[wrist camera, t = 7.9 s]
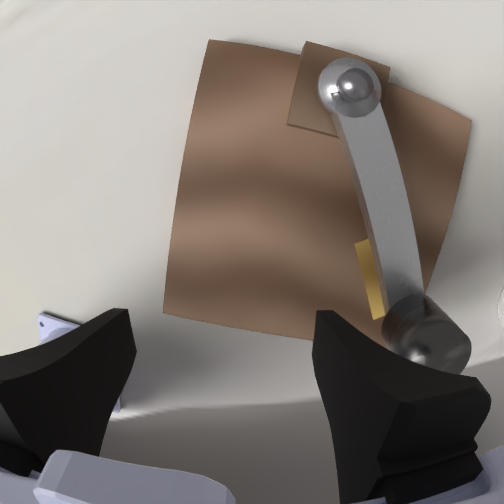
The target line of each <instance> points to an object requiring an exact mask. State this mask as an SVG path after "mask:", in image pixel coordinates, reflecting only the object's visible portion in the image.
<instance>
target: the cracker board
mask: <svg viewBox="0 0 504 504" xmlns="http://www.w3.org/2000/svg"><path fill="white" fill-rule="evenodd" d="M340 58H353V59H357V60H360V61H362V62H364V63H365V64H367V65H368V66H369V67H370V68H371V69H372V70H373V71H374V72H375V74H376V75H377V77H378V79H379V82H380V85H381V98H380V104H381V107H382V110H383V113H384V116H385V119H386V122H387V125H388V128H389V131H390V134H391V138H392V141H393V144H394V148H395V151H396V155H397V158H398V162H399V166H400V169H401V173H402V177H403V181H404V185H405V189H406V193H407V198H408V202H409V207H410V211H411V216H412V221H413V226H414V231H415V236H416V242H417V248H418V254H419V260H420V266H421V273H422V281H423V289H424V293H425V291H426V288H427V286H428V283H429V280H430V278H431V275H432V272H433V270H434V267H435V264H436V261H437V258H438V255H439V252H440V249H441V246H442V243H443V240H444V237H445V234H446V231H447V227H448V224H449V221H450V217H451V214H452V210H453V206H454V203H455V199H456V195H457V191H458V187H459V183H460V179H461V174H462V170H463V165H464V160H465V156H466V150H467V145H468V140H469V134H470V128H471V121H472V120H470V119H468V118H466V117H464V116H462V115H460V114H458V113H456V112H454V111H452V110H450V109H448V108H446V107H444V106H442V105H440V104H438V103H436V102H434V101H431V100H429V99H427V98H425V97H423V96H420V95H418V94H416V93H413V92H411V91H408V90H406V89H404V88H401V87H399V86H396V85H393V84H391V83H388V77H389V71H390V67H387V66H385V65H382V64H379V63H377V62H374V61H371V60H368V59H365V58H363V57H360V56H357V55H353V54H350V53H347V52H344V51H341V50H337V49H334V48H331V47H327V46H323V45H320V44H316V43H312V42H308V41H306V43H305V45H304V46H303V48H302V53H301V56H300V55H296V54H292V53H288V52H283V51H278V50H273V49H268V48H263V47H258V46H252V45H246V44H240V43H233V42H226V41H218V40H210V39H209V41H208V45H207V49H206V53H205V57H204V61H203V65H202V69H201V73H200V78H199V82H198V86H197V91H196V95H195V100H194V105H193V109H192V114H191V119H190V124H189V129H188V134H187V140H186V145H185V150H184V156H183V161H182V167H181V173H180V179H179V185H178V192H177V198H176V205H175V211H174V218H173V226H172V233H171V241H170V249H169V257H168V266H167V275H166V284H165V294H164V305H163V313H165V314H169V315H174V316H178V317H183V318H188V319H193V320H197V321H202V322H207V323H212V324H217V325H223V326H228V327H233V328H239V329H244V330H250V331H256V332H261V333H267V334H274V335H280V336H286V337H293V338H299V339H306V340H314V330H315V320H316V310H333V311H335V312H336V313H337V314H339V315H340V316H341V317H343V318H344V319H345V320H346V321H348V322H349V323H350V324H351V325H353V326H354V327H355V328H357V329H358V330H359V331H361V332H362V333H363V334H365V335H366V336H368V337H369V338H370V339H372V340H373V341H375V342H377V343H378V344H380V345H381V346H383V347H385V348H386V349H388V347H387V346H386V344H385V342H384V340H383V338H382V334H381V327H382V323H383V320H384V318H385V312H384V307H383V302H382V297H381V292H380V287H379V282H378V277H377V273H376V268H375V264H374V259H373V255H372V251H371V247H370V243H369V239H368V235H367V231H366V227H365V223H364V219H363V215H362V212H361V208H360V205H359V201H358V197H357V194H356V191H355V187H354V184H353V180H352V177H351V174H350V171H349V167H348V164H347V161H346V158H345V155H344V152H343V149H342V146H341V143H340V140H339V137H338V134H337V131H336V128H335V126H334V123H333V120H332V117H331V115H330V114H328V113H327V112H326V111H325V110H324V109H323V108H322V107H321V106H320V104H319V102H318V100H317V97H316V93H315V84H316V80H317V78H318V76H319V74H320V73H321V72H322V71H323V70H324V69H325V67H326V66H327V65H328V64H330V63H331V62H332V61H334V60H337V59H340Z"/></svg>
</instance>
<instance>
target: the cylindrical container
mask: <svg viewBox="0 0 504 504" xmlns="http://www.w3.org/2000/svg"><path fill="white" fill-rule="evenodd" d="M498 319H499V322H500V323H501V325H502V326H503V327H504V288H503V291H502V293H501V296H500V299H499V304H498Z"/></svg>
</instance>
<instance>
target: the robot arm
mask: <svg viewBox="0 0 504 504" xmlns="http://www.w3.org/2000/svg"><path fill="white" fill-rule="evenodd" d="M37 320H38V327H39V333H40V339H41V343H40V344H39V345H38V346H36V347H34V348H30V349H27V350H24V351H20V352H17V353H13V354H9V355H5V356H0V504H236V502H235V498H234V496H233V495H232V494H231V493H230V491H229V490H228V489H227V487H225V486H224V485H222V484H221V483H218V482H216V481H214V480H212V479H210V478H208V477H206V476H203V475H198V474H193V473H189V472H184V471H179V470H171V469H163V468H156V467H149V466H143V465H137V464H131V463H125V462H120V461H115V460H110V459H106V458H101V457H99V453H100V450H101V446H102V441H103V438H104V434H105V431H106V428H107V424H108V421H109V418H110V416H111V413H112V412H115V413H119V412H120V410H121V407H120V394H121V392H122V390H123V388H124V386H125V383H126V381H127V379H128V377H129V375H130V372H131V370H132V366H133V363H134V360H135V356H136V353H137V351H136V346H135V342H134V337H133V333H132V328H131V323H130V318H129V313H128V309H120V308H113V309H111V310H108V311H106V312H104V313H102V314H101V315H99V316H97V317H95V318H93V319H92V320H90V321H88V322H86V323H84V324H83V325H81V326H80V325H77V324H74V323H71V322H68V321H64V320H61V319H58V318H55V317H52V316H50V315H47V314H44V313H40V314H38V316H37ZM312 359H313V365H314V372H315V377H316V380H317V384H318V387H319V390H320V394H321V397H322V400H323V403H324V407H325V410H326V413H327V416H328V420H329V423H330V428H331V433H332V439H333V445H334V451H335V459H336V467H337V475H338V485H339V497H340V504H504V445H502V446H499V447H497V448H495V449H493V450H491V451H488V452H487V453H485V454H483V455H482V456H481V457H480V458H479V459H478V458H477V456H476V454H475V452H474V451H476V450H477V448H478V446H477V444H476V442H475V440H474V437H475V436H476V434H477V432H478V431H479V429H480V427H481V426H482V424H483V422H484V420H485V419H486V417H487V415H488V413H489V410H490V406H491V397H490V394H489V393H488V392H487V391H486V389H485V388H484V387H483V385H482V384H481V383H480V381H479V380H478V379H477V378H476V377H470V376H464V375H458V374H452V373H448V372H444V371H440V370H436V369H433V368H430V367H427V366H424V365H421V364H418V363H416V362H413V361H411V360H408V359H406V358H404V357H402V356H400V355H398V354H396V353H394V352H392V351H390V350H388V349H386V348H385V347H383V346H381V345H380V344H378V343H377V342H375V341H373V340H372V339H370V338H369V337H368V336H366V335H365V334H363V333H362V332H361V331H359V330H358V329H357V328H355V327H354V326H353V325H351V324H350V323H349V322H348V321H346V320H345V319H344V318H343V317H341V316H340V315H339V314H337V313H336V312H335V311H333V310H316V320H315V330H314V340H313V349H312Z"/></svg>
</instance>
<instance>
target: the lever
mask: <svg viewBox="0 0 504 504" xmlns="http://www.w3.org/2000/svg"><path fill="white" fill-rule="evenodd" d="M315 93H316V97H317V100H318V102H319V104H320V106H321V107H322V108H323V109H324V110H325V111H326V112H327V113H328V114H330V115H331V117H332V120H333V123H334V126H335V128H336V131H337V134H338V137H339V140H340V143H341V146H342V149H343V152H344V155H345V158H346V161H347V164H348V167H349V171H350V174H351V177H352V180H353V184H354V187H355V191H356V194H357V197H358V201H359V205H360V208H361V212H362V215H363V219H364V223H365V227H366V231H367V235H368V239H369V243H370V247H371V251H372V255H373V259H374V264H375V268H376V273H377V277H378V282H379V287H380V292H381V297H382V302H383V307H384V312H385V318H384V320H383V323H382V327H381V334H382V338H383V340H384V342H385V344H386V346H387V347H388V349H389V350H390V351H392V352H394V353H396V354H398V355H400V356H402V357H404V358H406V359H408V360H411V361H413V362H416V363H418V364H421V365H424V366H427V367H430V368H433V369H436V370H440V371H444V372H448V373H452V374H458V375H460V373H461V372H462V371H463V369H464V368H465V366H466V365H467V363H468V361H469V358H470V355H471V342H470V339H469V338H468V336H467V335H466V334H465V333H464V332H463V331H462V330H461V329H460V328H459V327H458V326H457V325H456V324H455V323H454V321H453V320H452V319H451V318H450V317H449V316H448V315H447V314H446V313H445V312H444V311H443V310H442V309H441V308H440V307H439V306H438V305H437V304H436V303H435V302H434V301H433V300H432V299H431V298H430V297H428V296H426V295H424V289H423V281H422V273H421V266H420V260H419V254H418V248H417V242H416V236H415V231H414V226H413V221H412V216H411V211H410V207H409V202H408V198H407V193H406V189H405V185H404V181H403V177H402V173H401V169H400V166H399V162H398V158H397V155H396V151H395V148H394V144H393V141H392V138H391V134H390V131H389V128H388V125H387V122H386V119H385V116H384V113H383V110H382V107H381V104H380V98H381V85H380V82H379V79H378V77H377V75H376V74H375V72H374V71H373V70H372V69H371V68H370V67H369V66H368V65H367V64H365V63H364V62H362V61H360V60H357V59H353V58H340V59H337V60H334V61H332V62H331V63H330V64H328V65H327V66H326V67H325V69H324V70H323V71H322V72H321V73H320V74H319V76H318V78H317V80H316V84H315Z"/></svg>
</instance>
